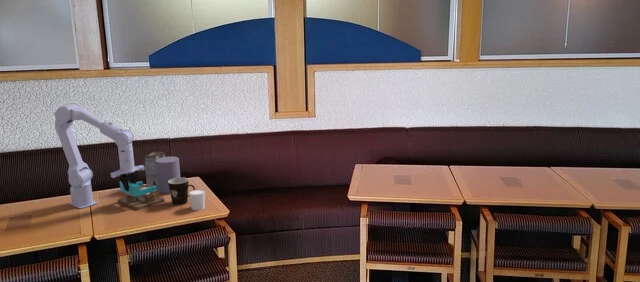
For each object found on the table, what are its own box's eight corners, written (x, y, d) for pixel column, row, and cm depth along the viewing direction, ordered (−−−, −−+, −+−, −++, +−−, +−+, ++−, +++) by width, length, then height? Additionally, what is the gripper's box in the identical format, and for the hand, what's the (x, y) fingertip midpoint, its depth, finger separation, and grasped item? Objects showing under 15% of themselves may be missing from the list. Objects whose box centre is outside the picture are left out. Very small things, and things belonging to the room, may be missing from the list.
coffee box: (156, 183, 256) (153, 151, 252) (168, 183, 255) (165, 151, 251) (146, 189, 247) (143, 156, 243) (159, 189, 246) (156, 156, 242)
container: (154, 193, 240) (151, 162, 237) (164, 186, 250) (161, 156, 247) (176, 194, 239) (173, 162, 235) (184, 187, 249) (182, 156, 245)
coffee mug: (166, 202, 229) (164, 180, 226) (183, 197, 235) (181, 176, 232) (180, 209, 221) (178, 186, 218) (197, 203, 226) (196, 181, 224)
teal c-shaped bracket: (141, 185, 236) (140, 175, 235) (156, 190, 229) (156, 180, 228) (120, 191, 229) (119, 181, 227) (135, 196, 221) (134, 187, 220)
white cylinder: (186, 208, 221) (184, 193, 219) (198, 203, 227) (197, 188, 225) (197, 211, 217) (196, 196, 216) (209, 206, 223) (208, 191, 221)
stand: (144, 194, 240) (142, 182, 239) (164, 201, 230) (163, 189, 229) (117, 202, 230) (116, 190, 229) (137, 210, 220) (136, 197, 219)
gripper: (115, 164, 214) (119, 196, 217) (147, 157, 225) (150, 187, 228) (106, 161, 219) (110, 192, 222) (138, 154, 229) (141, 184, 233)
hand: (129, 189), depth 225 cm, fingers closed on teal c-shaped bracket, 2 cm apart
